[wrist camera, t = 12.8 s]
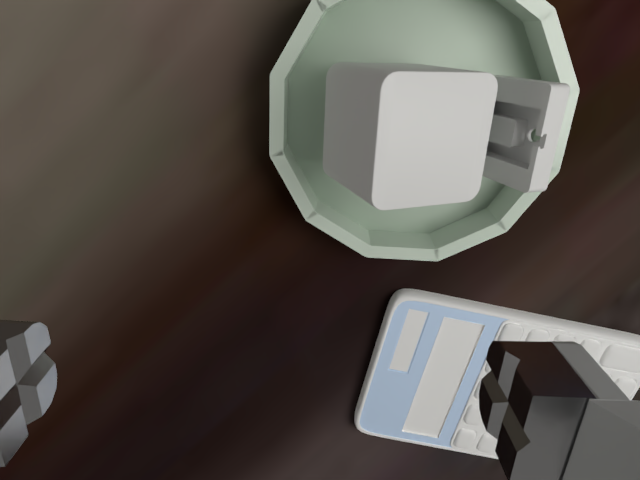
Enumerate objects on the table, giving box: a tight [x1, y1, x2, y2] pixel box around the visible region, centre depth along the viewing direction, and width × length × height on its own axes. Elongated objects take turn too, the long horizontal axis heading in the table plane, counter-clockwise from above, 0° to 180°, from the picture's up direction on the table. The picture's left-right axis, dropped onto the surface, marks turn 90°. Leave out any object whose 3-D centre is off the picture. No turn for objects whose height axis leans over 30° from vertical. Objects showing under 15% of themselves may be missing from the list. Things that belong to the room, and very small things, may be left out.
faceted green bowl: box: [269, 0, 580, 261], centre depth 28 cm, size 17×17×3 cm
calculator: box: [354, 289, 640, 459], centre depth 37 cm, size 13×20×2 cm, turn 78°
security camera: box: [323, 62, 570, 210], centre depth 25 cm, size 6×7×10 cm
